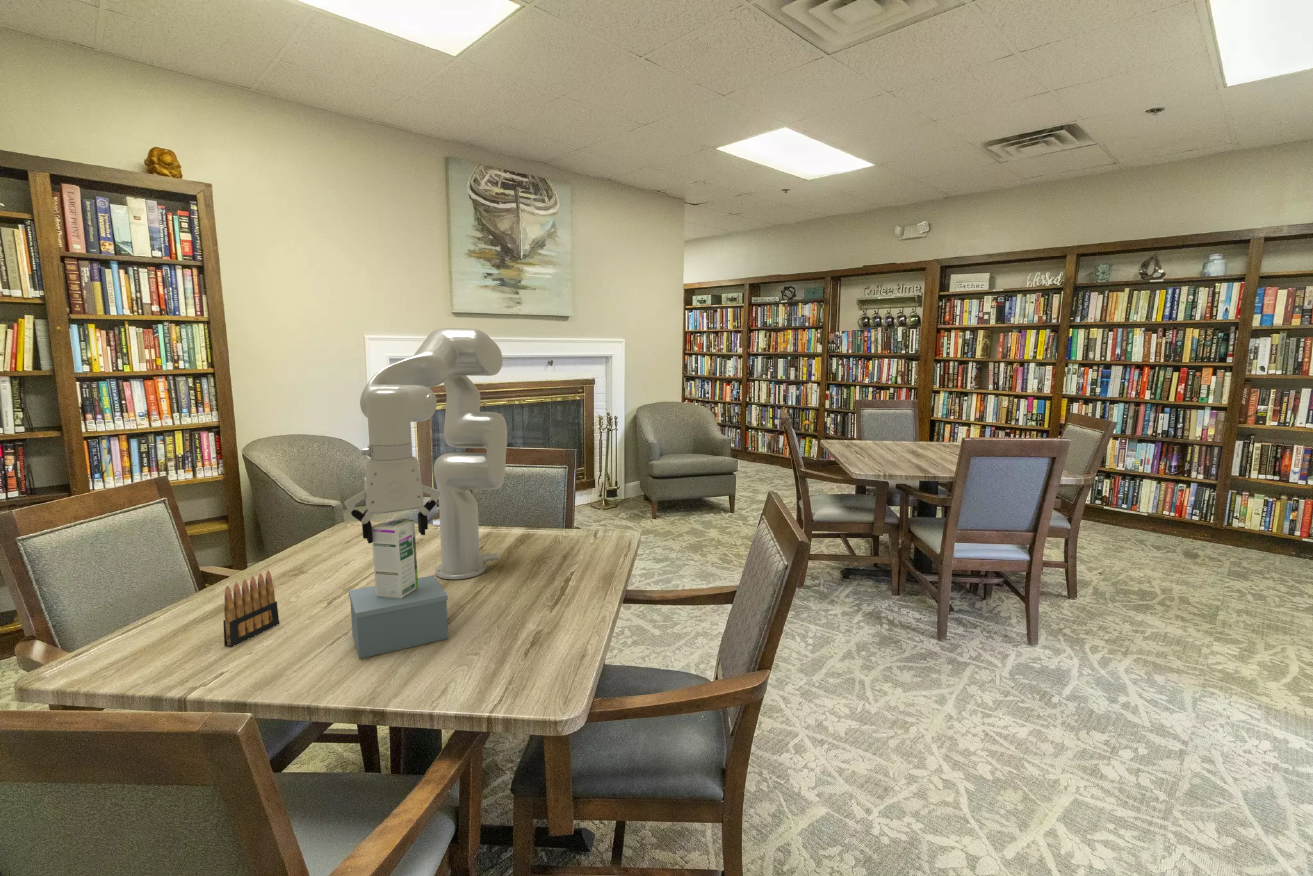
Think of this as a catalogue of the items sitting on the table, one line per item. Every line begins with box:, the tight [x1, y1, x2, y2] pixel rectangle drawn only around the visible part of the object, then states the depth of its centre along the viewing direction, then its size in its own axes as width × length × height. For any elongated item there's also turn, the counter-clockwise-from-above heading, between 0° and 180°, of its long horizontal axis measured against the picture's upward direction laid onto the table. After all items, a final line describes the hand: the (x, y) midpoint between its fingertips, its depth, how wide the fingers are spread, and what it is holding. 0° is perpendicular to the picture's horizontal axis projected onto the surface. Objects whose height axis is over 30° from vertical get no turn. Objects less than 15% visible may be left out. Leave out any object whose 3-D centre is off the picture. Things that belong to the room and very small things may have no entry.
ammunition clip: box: [223, 569, 280, 648], centre depth 119 cm, size 11×2×12 cm, turn 165°
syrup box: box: [371, 518, 419, 599], centre depth 117 cm, size 6×6×14 cm
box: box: [349, 599, 449, 660], centre depth 119 cm, size 16×12×8 cm
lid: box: [348, 575, 449, 618], centre depth 118 cm, size 16×12×1 cm
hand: (396, 537), depth 117 cm, fingers open, 9 cm apart
